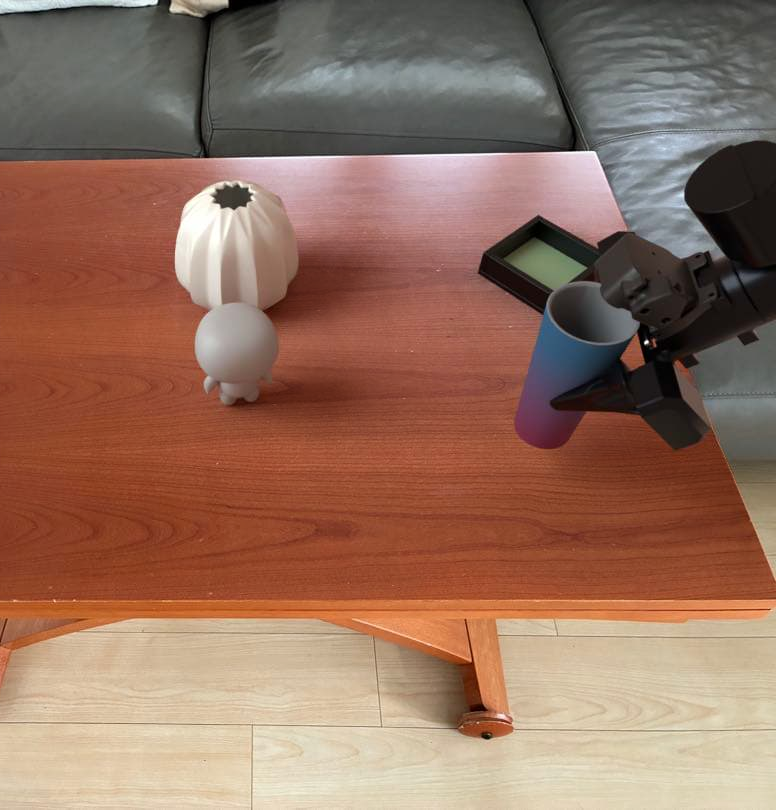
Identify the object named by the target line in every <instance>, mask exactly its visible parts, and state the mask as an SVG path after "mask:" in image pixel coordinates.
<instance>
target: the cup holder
mask: <svg viewBox="0 0 776 810" xmlns="http://www.w3.org/2000/svg"><path fill="white" fill-rule="evenodd" d="M599 258H600V254H599V250H598V247H596V246H595V245H593V244H591V243H589V242H587V241H586V240H584V239H582V238H580V237H578V236H576V235H575V234H573V233H571V232H570V231H568V230H566V229H564V228H563V227H560V226H559V225H557V224H556V223H553V222H552V221H550V220H548V219H546V218H545V217H544V216H542V215H540V214H537V215H535V216H534V217H533V218H531V219H530V220H528V221H527V222H526V223H524V224H522V225H521V226H519V228H516V229H515V230H514V231H513V232H511V233H510V234H508V235H507V236H505V237H504V238H502V239H500V241H498V242H497V243H495V244H493V245H492V246H491V247H489V248H488V249H486V250H485V251H483V253H482V256H481V258H480V259H481V260H480V262H479V267H478V270H477V274H478V275H480V276H481V277H482V278H485V279H486V280H487V281H489V282H491V283H492V284H494V285H495V286H497V287H498V288H500V289H502V290H503V291H504V292H506V293H507V294H510V295H511V296H512V297H514V298H515V299H517V300H518V301H520V302H522V303H523V304H524V305H526V306H528V307H530V308H531V309H533V310H534V311H536V312H537V313H539V314H540V315H542V316H543V315H544V311H545V307H546V304H547V301H548V298H549V296H550V295H551V293H552V292H553V291H554V290H556V289H557V288H558V287H560V286H562V285H565V284H568V283H571V282H578V281H589V282H594V279H595V274H594V272H595V266H594V263H595V262H596V261H597V260H598V259H599Z"/></svg>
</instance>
